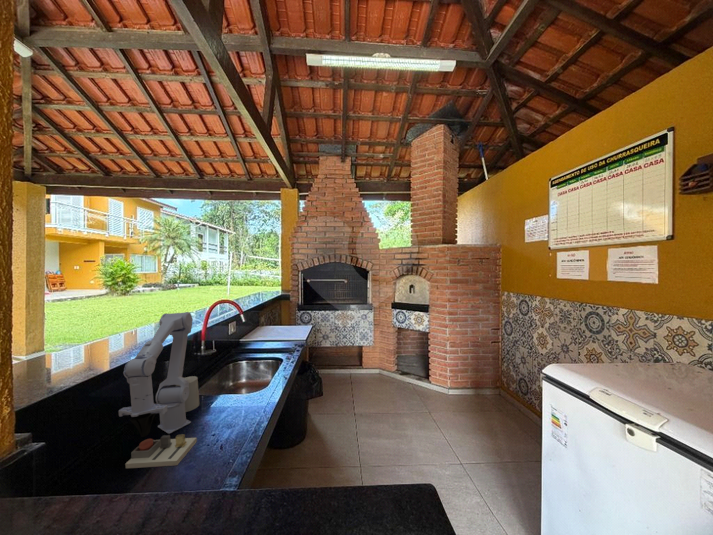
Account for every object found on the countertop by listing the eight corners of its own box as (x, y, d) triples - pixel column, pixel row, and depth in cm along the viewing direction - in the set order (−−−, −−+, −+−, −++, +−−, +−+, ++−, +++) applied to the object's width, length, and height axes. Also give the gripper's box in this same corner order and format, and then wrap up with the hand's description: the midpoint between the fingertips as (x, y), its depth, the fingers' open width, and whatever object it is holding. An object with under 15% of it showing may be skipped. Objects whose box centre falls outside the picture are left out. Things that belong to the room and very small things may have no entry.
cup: (184, 402, 125) (182, 377, 125) (202, 401, 126) (200, 375, 125) (173, 413, 117) (171, 385, 116) (193, 411, 118) (191, 383, 117)
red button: (136, 452, 89) (136, 446, 89) (145, 445, 93) (144, 438, 93) (148, 452, 89) (147, 445, 89) (156, 444, 93) (155, 438, 93)
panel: (125, 468, 86) (124, 457, 86) (151, 444, 97) (150, 434, 97) (177, 465, 86) (176, 454, 86) (196, 441, 97) (196, 432, 97)
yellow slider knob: (175, 447, 92) (174, 437, 92) (178, 443, 94) (177, 434, 94) (183, 446, 92) (182, 437, 92) (186, 442, 94) (185, 433, 94)
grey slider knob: (160, 448, 92) (159, 438, 92) (163, 444, 94) (163, 434, 94) (168, 447, 92) (167, 437, 92) (172, 443, 94) (171, 434, 94)
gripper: (108, 402, 86) (112, 444, 87) (155, 399, 86) (158, 441, 87) (127, 391, 93) (130, 430, 94) (170, 389, 93) (173, 427, 94)
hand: (145, 435), depth 91 cm, fingers closed
